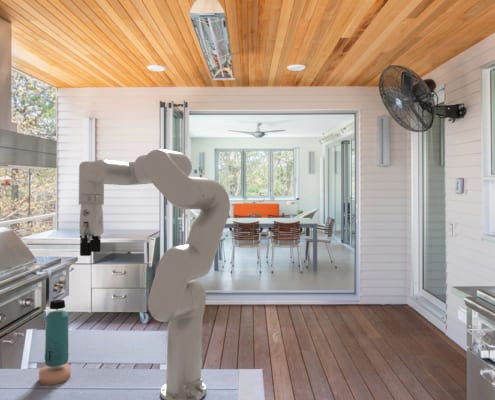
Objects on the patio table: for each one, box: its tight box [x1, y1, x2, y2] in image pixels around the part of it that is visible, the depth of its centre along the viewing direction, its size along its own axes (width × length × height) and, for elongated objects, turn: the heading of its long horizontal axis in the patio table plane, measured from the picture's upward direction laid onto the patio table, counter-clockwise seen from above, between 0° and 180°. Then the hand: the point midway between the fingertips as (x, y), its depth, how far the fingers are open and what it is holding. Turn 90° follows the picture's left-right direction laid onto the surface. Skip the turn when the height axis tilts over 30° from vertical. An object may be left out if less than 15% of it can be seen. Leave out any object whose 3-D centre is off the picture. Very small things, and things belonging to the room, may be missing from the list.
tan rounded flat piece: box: [38, 362, 72, 386], centre depth 119 cm, size 8×8×3 cm
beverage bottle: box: [44, 299, 70, 367], centre depth 119 cm, size 6×7×20 cm
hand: (90, 253), depth 129 cm, fingers open, 9 cm apart
